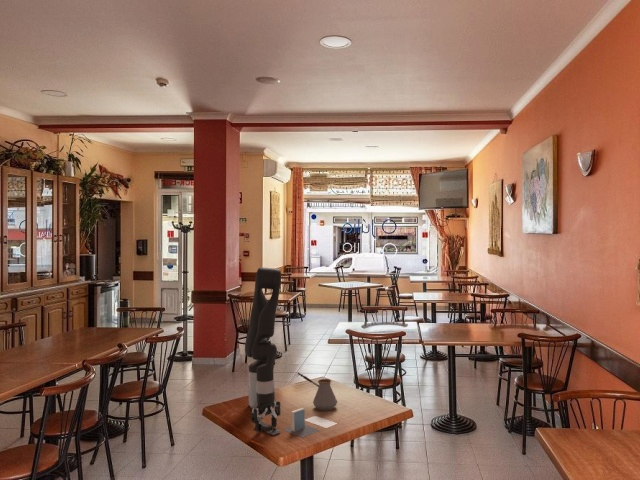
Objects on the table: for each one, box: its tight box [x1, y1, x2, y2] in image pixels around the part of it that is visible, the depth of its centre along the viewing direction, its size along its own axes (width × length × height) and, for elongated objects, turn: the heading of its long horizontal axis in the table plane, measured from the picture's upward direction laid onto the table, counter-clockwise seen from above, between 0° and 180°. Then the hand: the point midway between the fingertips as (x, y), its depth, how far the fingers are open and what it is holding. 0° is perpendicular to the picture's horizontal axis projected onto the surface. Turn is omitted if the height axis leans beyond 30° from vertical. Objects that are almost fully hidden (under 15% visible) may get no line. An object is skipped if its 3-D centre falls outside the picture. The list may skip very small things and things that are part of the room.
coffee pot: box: [295, 372, 338, 411], centre depth 247 cm, size 21×12×15 cm, turn 59°
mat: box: [283, 424, 321, 438], centre depth 216 cm, size 12×10×1 cm
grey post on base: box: [254, 421, 281, 436], centre depth 217 cm, size 13×4×3 cm, turn 44°
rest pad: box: [305, 415, 338, 429], centre depth 225 cm, size 14×7×1 cm, turn 44°
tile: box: [290, 407, 306, 431], centre depth 217 cm, size 2×6×8 cm, turn 134°
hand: (266, 429), depth 217 cm, fingers open, 7 cm apart
